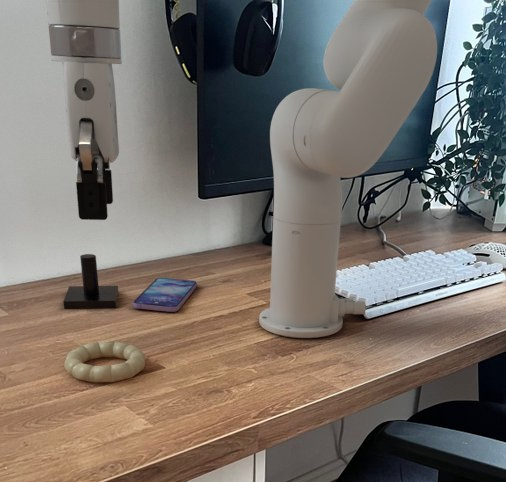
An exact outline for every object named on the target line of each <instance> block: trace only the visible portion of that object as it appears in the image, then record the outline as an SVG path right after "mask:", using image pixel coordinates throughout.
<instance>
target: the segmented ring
mask: <svg viewBox="0 0 506 482" xmlns="http://www.w3.org/2000/svg"><path fill="white" fill-rule="evenodd" d="M99 358H118V359H122V360H126V361H124V362H120V363H115V364H112V365H92V364H88V363H86V362H87V361H91V360H95V359H99ZM63 364H64V365H63V367H64V370H65V371H66V372H67V373H68V374H69V375H71V376H72V377H73V378H74V379H76V380H80V381H85V382H89V383H95V384H96V383H115V382H119V381H122V380H127V379H131V378H133V377H134V376H136V375H137V374H139V373H140V372H142V371H143V370H144V368H145V366H146V355H145V353H144V351H142V350H141V349H140V348H138V347H137V346H135V345H133V344H130V343H125V342H119V341H97V342H91V343H87V344H83V345H80V346H78V347H77V348H75V349H73V350H71V351H69V352H68V353H67V354H66V356H65V359H64V363H63Z"/></svg>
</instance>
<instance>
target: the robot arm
mask: <svg viewBox="0 0 506 482" xmlns="http://www.w3.org/2000/svg"><path fill="white" fill-rule="evenodd" d="M119 1H120V0H46V1H45V2H46V14H47V23H48V24H47V25H48V32H49V33H48V35H49V45H50V46H49V47H50V55H51V56H50V58H51V62H61V63H62V73H63V74H62V76H63V89H64V102H65V113H66V124H67V125H66V126H67V134H68V143H69V150H70V156H71V158H72V159H73V160H74V161H75V162H76V182H75V185H76V186H75V187H76V198H77V211H78V212H77V213H78V218H79V219H80V220H83V221H85V220H90V221H106V220H107V219H108V217H109V215H108V205H111V204H113V203H114V196H113V195H114V193H113V176H112V175H113V174H112V170H111V169H110V168H111V167H110V163H114V162H115V161H116V160H117V159H118V157H119V154H120V145H119V131H118V114H117V100H116V86H115V85H116V84H115V77H114V69H113V65H122V63H123V61H122V43H121V29H120V28H121V26H120V25H121V21H120V2H119ZM431 3H432V0H353V1H352V2H351V4H350V6H349V8H348V9H347V10H346V12H345V13H344V16H342V18H341V20H340V22H339V23H338V25H337V26H336V28H335V29H334V30H333V33H332V34H331V36H330V38H329V40H328V42H327V44H326V46H325V50H324V54H323V58H322V59H323V60H322V61H323V62H322V67H323V71H324V74H325V77H326V79H327V81H328V82H329V83H330V84H331V85H332V86H333V87H334V88H336V89H337V90H335V89H326V88H316V87H312V88H311V87H309V88H308V87H307V88H301V89H298V90H295V91H292V92H291V93H289V94H288V95H286V96H285V97H284V98H283V99H282V100H281V101H280V102H279V104H278V105H277V106H276V108H275V110H274V113H273V115H272V118H271V121H270V128H269V144H270V154H271V163H272V171H273V213H272V215H273V216H272V237H271V238H272V240H271V262H270V263H271V268H270V290H269V291H270V294H269V307H267V308H265V309H263V310H262V311H260V313H259V317H258V323H259V325H260V327H261V328H262V329H264V330H265V331H268V332H269V333H273V334H275V335H279V336H282V337H287V338H294V339H295V338H297V339H314V338H315V339H317V338H324V337H328V336H331V335H334V334H336V333H338V332H339V331H341V329H342V328H343V321H344V319H343V318H344V317H345V315H365V314H366V310H367V304H366V301H364V300H360V301H359V300H357V301H356V300H355V301H354V298H353V297H344V298H339V297H338V295H337V294H336V283H337V273H338V272H337V271H338V259H339V249H340V239H341V238H340V236H341V223H342V218H343V217H342V216H343V187H342V180H341V178H343V179H351V178H355V177H359V176H361V175H363V174H364V173H366V172H367V171H368V170H369V169H371V168H372V167H373V166H374V165H375V164H376V163H377V162H378V161H379V159H381V157H382V155H383V154H384V153H385V151H386V150H387V149H388V147H389V145H390V144H391V143H392V141H393V139H394V138H395V137H396V136H397V134H398V132H399V131H400V129H401V128H402V127H403V124H404V123H405V122H406V120H407V118H408V117H409V116H410V114H411V113H412V111H413V109H414V108H415V107H416V105H417V103H418V101H419V100H420V99H421V97H422V95H423V94H424V92H425V90H426V89H427V87H428V85H429V83H430V81H431V79H432V76H433V73H434V71H435V67H436V63H437V56H438V40H437V35H436V32H435V29H434V26H433V25H432V23H431V22H430V20H429V19H428V18H427V17H426V16H425V13H426V12H427V10H428V8H429V6H430V4H431ZM338 90H339V91H338Z"/></svg>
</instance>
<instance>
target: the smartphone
mask: <svg viewBox="0 0 506 482" xmlns="http://www.w3.org/2000/svg"><path fill="white" fill-rule="evenodd" d="M197 287H198V282H197V280H191V279H181V278H171V277H157V278H155V279H154V280H153V281H152V282H151V283H150V284H149V285H148V286H147V287H146V288H145V289H144V290H143V291H142V292H141V293H140V294H139V295H138V296H137V297H136V298H135V299H134V300H133V301H132V307H133V308H135V309H141V310H151V311H161V312H168V313H169V312H170V313H171V312H172V313H173V312H177V311H179V310H180V309H181V307H182V306H183V305H184V303H185V302H186V301H187V300H188V299H189V297H190V296H191V295H192V293H193V292H194V291H195V290H196V289H197Z"/></svg>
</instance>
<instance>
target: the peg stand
mask: <svg viewBox="0 0 506 482" xmlns="http://www.w3.org/2000/svg"><path fill="white" fill-rule="evenodd" d="M79 258H80V267H81V278H82V285H73V286H71V285H70V286H68V289H67V291H66V293H65V295H64V299H63V309H64V310H68V309H69V310H70V309H71V310H73V309H74V310H75V309H78V310H79V309H116V308H117V305H118V299H119V298H118V297H119V286H118V285H99V275H98V266H97V265H98V264H97V256H96V255H95V254H93V253H85V254H81V255H80V256H79Z"/></svg>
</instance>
